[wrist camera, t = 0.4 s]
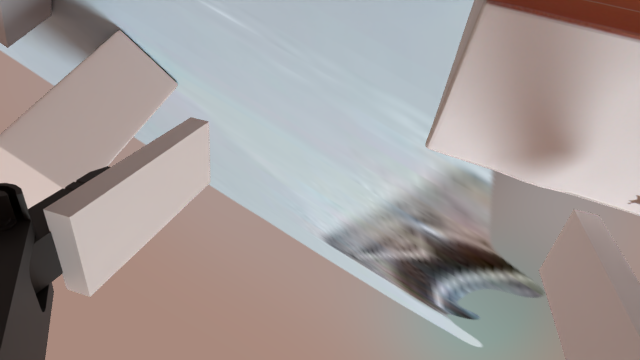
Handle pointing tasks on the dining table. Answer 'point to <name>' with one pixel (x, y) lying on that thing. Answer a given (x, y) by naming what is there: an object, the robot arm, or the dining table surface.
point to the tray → (21, 18)
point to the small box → (549, 96)
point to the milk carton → (83, 119)
